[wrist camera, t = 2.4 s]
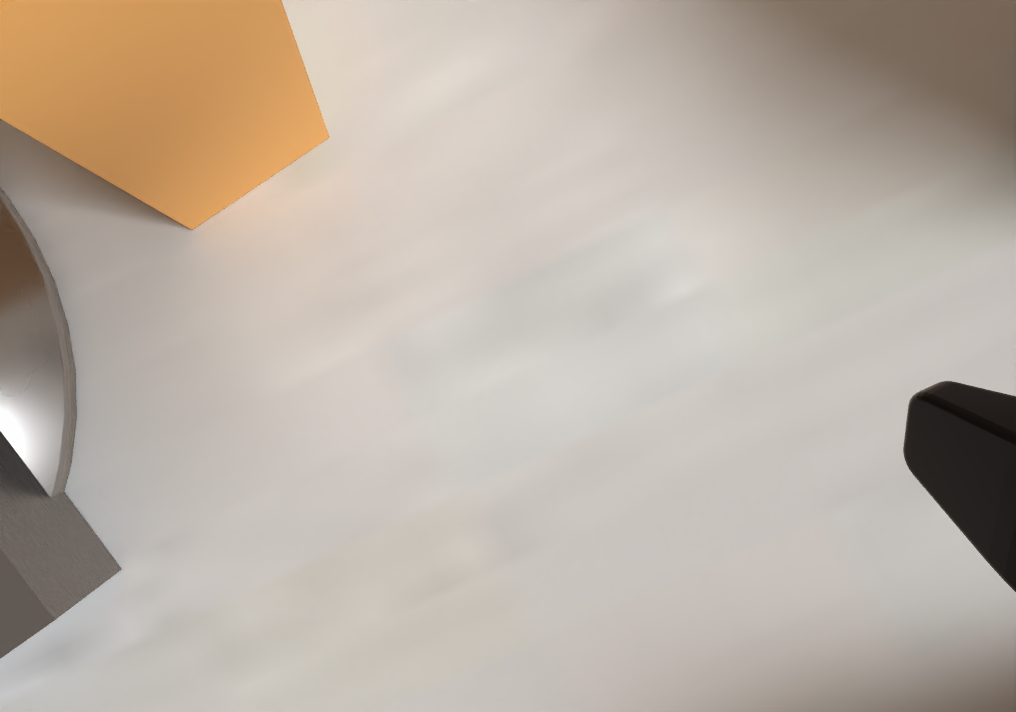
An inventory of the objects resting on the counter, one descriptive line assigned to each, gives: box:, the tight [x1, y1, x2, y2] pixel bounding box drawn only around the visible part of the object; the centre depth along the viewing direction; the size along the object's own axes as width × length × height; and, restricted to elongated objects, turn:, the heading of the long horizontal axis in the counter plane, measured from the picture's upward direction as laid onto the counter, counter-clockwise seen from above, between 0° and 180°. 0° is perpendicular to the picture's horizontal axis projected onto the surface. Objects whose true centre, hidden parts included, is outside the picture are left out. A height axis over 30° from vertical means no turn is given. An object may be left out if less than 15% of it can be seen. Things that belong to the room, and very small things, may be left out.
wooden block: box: [0, 0, 329, 230], centre depth 15 cm, size 4×4×12 cm
